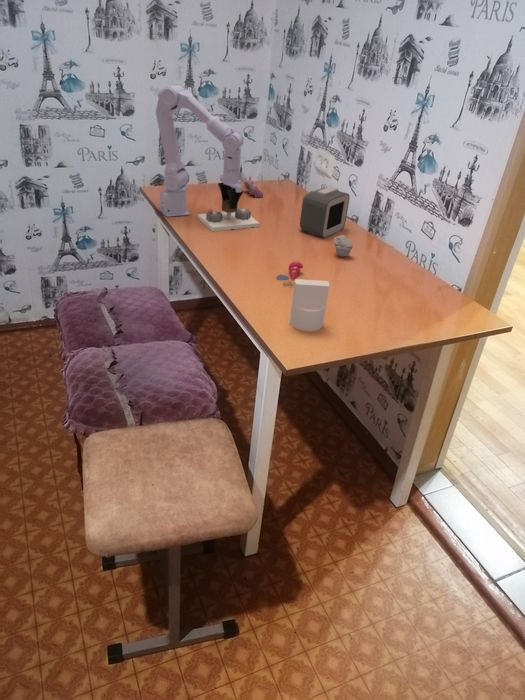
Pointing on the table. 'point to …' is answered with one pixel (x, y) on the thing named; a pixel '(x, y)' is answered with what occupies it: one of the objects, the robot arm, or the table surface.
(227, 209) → the walnut gear
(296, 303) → the cylinder with rectangular tab
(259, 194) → the pink irregular piece
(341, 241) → the grey muffin
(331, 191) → the alarm clock
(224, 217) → the gear board
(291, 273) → the toy pieces
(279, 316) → the table surface
